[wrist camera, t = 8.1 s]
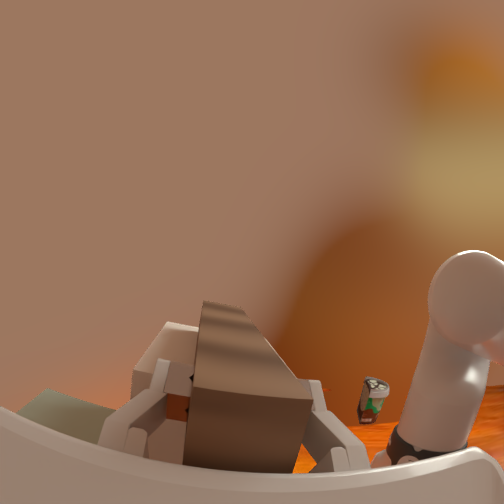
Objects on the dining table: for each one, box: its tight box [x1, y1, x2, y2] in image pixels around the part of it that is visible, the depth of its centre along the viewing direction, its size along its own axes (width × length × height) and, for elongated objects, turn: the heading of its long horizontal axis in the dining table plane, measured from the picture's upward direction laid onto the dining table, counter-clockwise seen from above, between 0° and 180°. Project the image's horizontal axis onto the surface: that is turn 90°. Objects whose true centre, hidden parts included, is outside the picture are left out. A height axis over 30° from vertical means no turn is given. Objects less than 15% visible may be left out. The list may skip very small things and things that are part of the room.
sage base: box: [16, 388, 116, 445], centre depth 19 cm, size 14×10×16 cm
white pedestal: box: [130, 322, 295, 465], centre depth 23 cm, size 15×10×26 cm, turn 8°
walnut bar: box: [182, 301, 314, 474], centre depth 18 cm, size 21×4×3 cm, turn 8°
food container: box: [357, 377, 389, 424], centre depth 70 cm, size 12×6×10 cm, turn 166°
